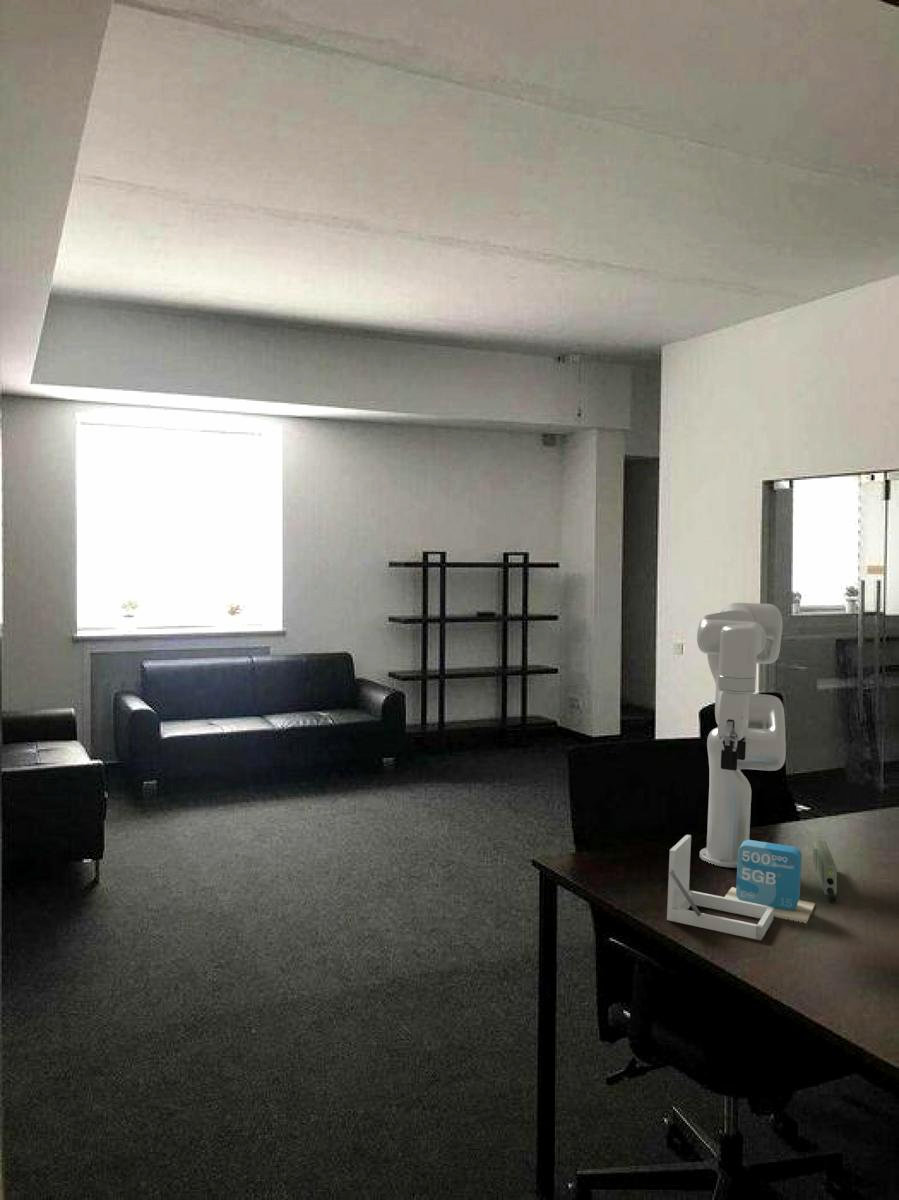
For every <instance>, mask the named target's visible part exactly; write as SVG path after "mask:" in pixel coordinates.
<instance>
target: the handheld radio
mask: <svg viewBox="0 0 899 1200" xmlns="http://www.w3.org/2000/svg"><path fill="white" fill-rule="evenodd" d="M830 851H831V850H830V849H829V846H828V844H827V841H826V840H824V839H815V840H814V842H813V843H812V866H813V869H814V871H815V872H816V875H817V874H818V875H817V878H818V877H819V878H818V880H820V881H819V883H820V886H821V890H822V891H824V892H823V893H824V895H825V894H827V895H826V896H828V897H829V900H830V902H831V903H836V902H837V899H838V898H837V896H836V895H837V891H838V869H837V866H836V864H835V860H834V859H833V856H832V854H831V852H830Z"/></svg>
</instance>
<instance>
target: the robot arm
mask: <svg viewBox="0 0 899 1200" xmlns="http://www.w3.org/2000/svg"><path fill="white" fill-rule="evenodd" d="M697 627H698V628H697V631H696V632H697V633H696V642H697V646H698V649H699V651H701V652H702V653H703V654H706V655H707V662H708V665H709V668H710V672H711V675H712V677H713V679H714V682H715V701H714V703H715V705H714V715H715V716H714V717H715V718H714V719H715V722H716V724H717V727H715V728H713V729H712V730H711V731H710V732H709V734H708V736H707V740H706V741H707V742H706V747H707V755H708V756H707V757H708V766H709V767H708V768H709V769H708V770H709V773H708V774H709V777H708V778H709V780H708V781H709V782H708V783H709V787H708V788H709V789H708V806H707V807H708V809H707V828H706V829H707V833H706V847H704V848H702V849H700V851H699V858H700V859H701V860H702V861H704V862H705V861H706V862H705V863H707V862H708V864H710V863H711V864H710V865H713V864H714V866H717V867H721V868H722V867H724V868H730V869H737V863H738V849H739V848H740V846H741V844H742V843H743V842H744V841H745V840H750V833H751V832H750V826H751V809H752V808H751V807H752V806H751V803H752V787H751V784H750V782H749V780H748V778H747V777H746V775H744V773H743V772H742V771H741V770H754V771H755V770H757V771H768V772H770V771H772V772H773V771H778V770H780V769H781V768H782V767H783V766H784V765H785V761H786V755H787V754H786V753H787V750H786V749H787V748H786V746H787V745H786V719H785V717H786V716H785V710H784V705H783V703H782V700H781V699H780V698H779V697H777V696H775V695H771V694H761V693H756V683H757V664H759V665H760V664H761V665H770V664H773V663H775V662H776V661H778V658H779V657H780V652H781V642H782V635H783V616H782V613H781V611H780V609H779V608H778V607H777V606H776V605H774V604H772V603H760V602H759V603H758V602H757V603H754V602H753V603H751V602H732V603H730V604H727V605H726V606H724V607H723V608H722V609H721V611H720V612H715V613H710V614H709V613H708V614H705V615H703V616H702V618H701V619H700V620H699V623H698V626H697Z"/></svg>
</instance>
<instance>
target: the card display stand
mask: <svg viewBox="0 0 899 1200" xmlns="http://www.w3.org/2000/svg"><path fill="white" fill-rule="evenodd" d="M691 843H692V835H691V834H686V835H684V836H683V837H682V838H681V839H680V840H679V841H678V842H677V843H676V844H675V845H673V846H672V847H671V848H670V849H669V854H668V855H669V858H668V859H669V860H668V882H667V883H668V885H667V908H666V920H667V921H670V922H675V923H679V924H683V925H688V926H693V927H698V928H703V929H707V930H711V931H714V932H715V931H717V932H720V933H724V934H730V935H734V936H739V937H743V938H748V939H752V940H758V941H762V939H763V938H764V937H765V935H766V932H767V931H768V929H769V928H770V926H771V924H772V922H773V921H774V907H771V906H766V905H761V904H756V903H751V902H746V901H741V900H736V899H731V898H726V897H725V896H721V895H716V894H710V893H706V892H705V893H704V892H701V891H695V890H690V876H691V875H690V874H691V873H690V870H691V852H692V851H691V846H692V844H691ZM697 906H698V907H703V908H708V909H713V910H717V911H723V912H727V913H731V914H737V915H741V916H746V917H751V918H756V919H759V921H758V923H757V924H756V923H752V922H748V921H742V920H738V919H732V918H727V917H724V916H719V915H713V914H708V913H704V912H701V911H700V909H698V907H697ZM690 907H691V908H692V910H689V909H690Z"/></svg>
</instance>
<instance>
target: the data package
mask: <svg viewBox="0 0 899 1200" xmlns="http://www.w3.org/2000/svg"><path fill="white" fill-rule="evenodd" d="M801 868H802V852H801V850H800V849H799V848H798V847H797V846H791V845H785V844H779V843H773V842H772V843H771V842H766V841H758V840H754V839H753V840H752V839H749V840H745V841H744V842H743V843H742V844H741V846H740V848H739V849H738V863H737V868H736V887H735V888H736V895H737V898H738V899H739V900H741V901H746V902H751V903H756V904H761V905H766V906H771V907H774V908H779V909H785V910H793V909H795V908H796V907H797V904H798V901H799V900H800V896H801V893H800V892H801V873H802V869H801Z"/></svg>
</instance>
